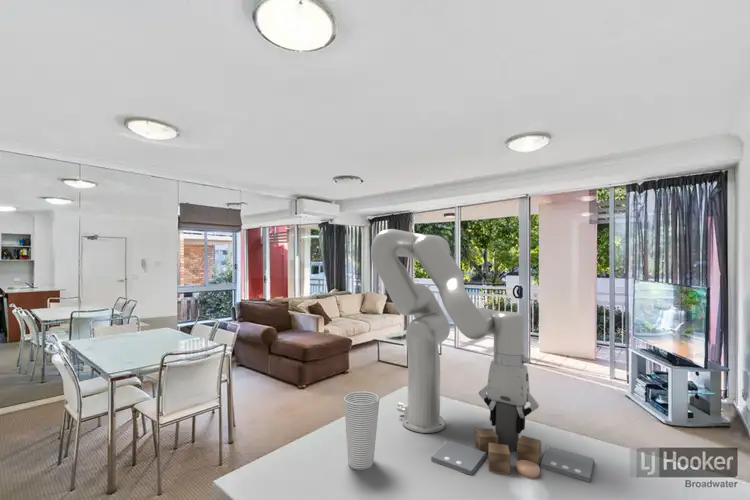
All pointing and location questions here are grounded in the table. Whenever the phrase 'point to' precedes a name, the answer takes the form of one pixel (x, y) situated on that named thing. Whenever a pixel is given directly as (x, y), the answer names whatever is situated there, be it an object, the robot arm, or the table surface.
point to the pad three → (568, 463)
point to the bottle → (506, 423)
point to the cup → (361, 427)
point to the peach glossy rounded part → (527, 469)
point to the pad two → (459, 457)
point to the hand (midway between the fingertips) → (507, 427)
